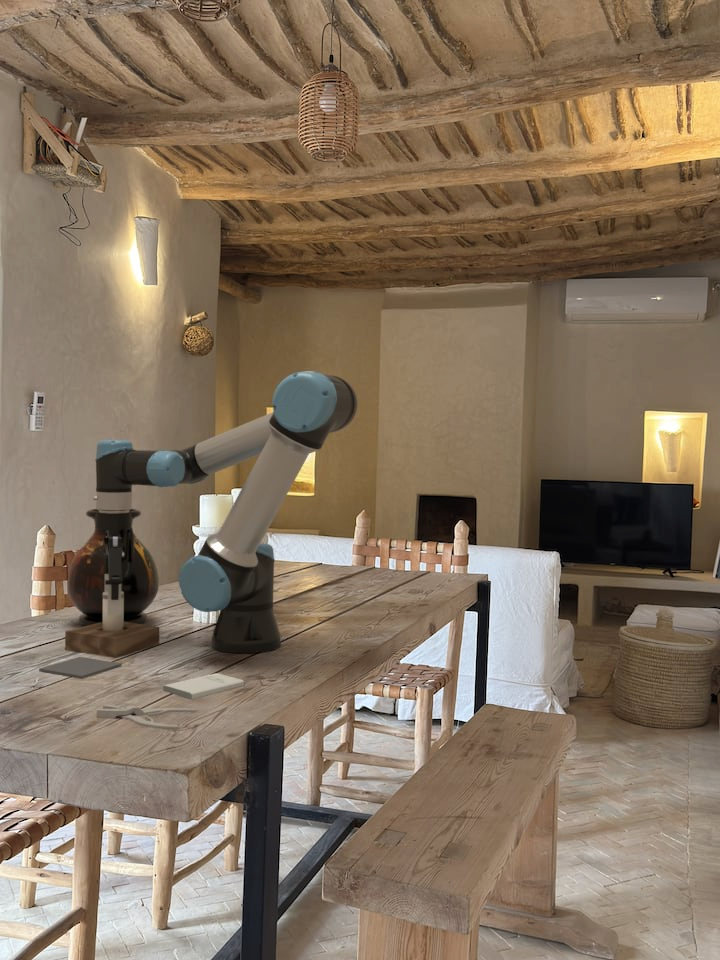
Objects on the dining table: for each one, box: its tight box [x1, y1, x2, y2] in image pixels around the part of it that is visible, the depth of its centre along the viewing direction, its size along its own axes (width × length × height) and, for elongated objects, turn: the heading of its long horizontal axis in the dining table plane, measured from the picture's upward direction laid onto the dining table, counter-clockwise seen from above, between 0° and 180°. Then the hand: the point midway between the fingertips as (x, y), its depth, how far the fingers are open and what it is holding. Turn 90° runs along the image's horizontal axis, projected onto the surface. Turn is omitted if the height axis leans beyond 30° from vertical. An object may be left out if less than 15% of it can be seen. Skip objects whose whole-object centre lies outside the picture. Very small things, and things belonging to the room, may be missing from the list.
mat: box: [38, 656, 123, 679], centre depth 179 cm, size 11×11×1 cm
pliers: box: [96, 704, 198, 730], centre depth 149 cm, size 10×2×15 cm
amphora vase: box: [66, 508, 160, 627], centre depth 220 cm, size 22×22×28 cm
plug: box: [103, 591, 124, 632], centre depth 197 cm, size 4×4×12 cm
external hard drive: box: [162, 672, 245, 700], centre depth 167 cm, size 2×8×12 cm
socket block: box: [64, 622, 160, 658], centre depth 197 cm, size 14×14×4 cm
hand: (112, 608), depth 197 cm, fingers open, 13 cm apart
